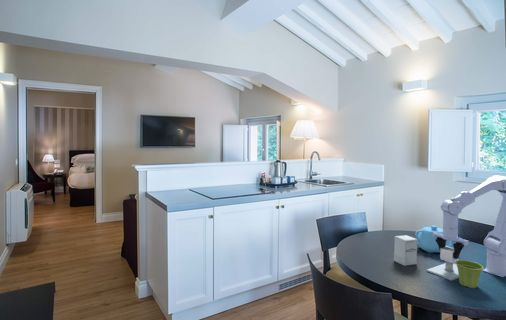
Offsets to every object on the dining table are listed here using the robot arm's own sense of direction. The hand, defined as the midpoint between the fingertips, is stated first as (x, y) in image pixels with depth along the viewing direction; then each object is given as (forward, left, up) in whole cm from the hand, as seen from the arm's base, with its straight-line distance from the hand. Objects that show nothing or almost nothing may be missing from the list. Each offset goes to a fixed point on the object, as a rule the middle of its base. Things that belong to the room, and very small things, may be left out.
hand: (449, 256), depth 140 cm
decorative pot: (-22, -20, -8) cm, 31 cm away
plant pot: (+6, +11, -8) cm, 15 cm away
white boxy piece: (0, 0, -2) cm, 2 cm away
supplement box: (+7, -17, -8) cm, 20 cm away
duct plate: (-1, 0, -7) cm, 7 cm away
